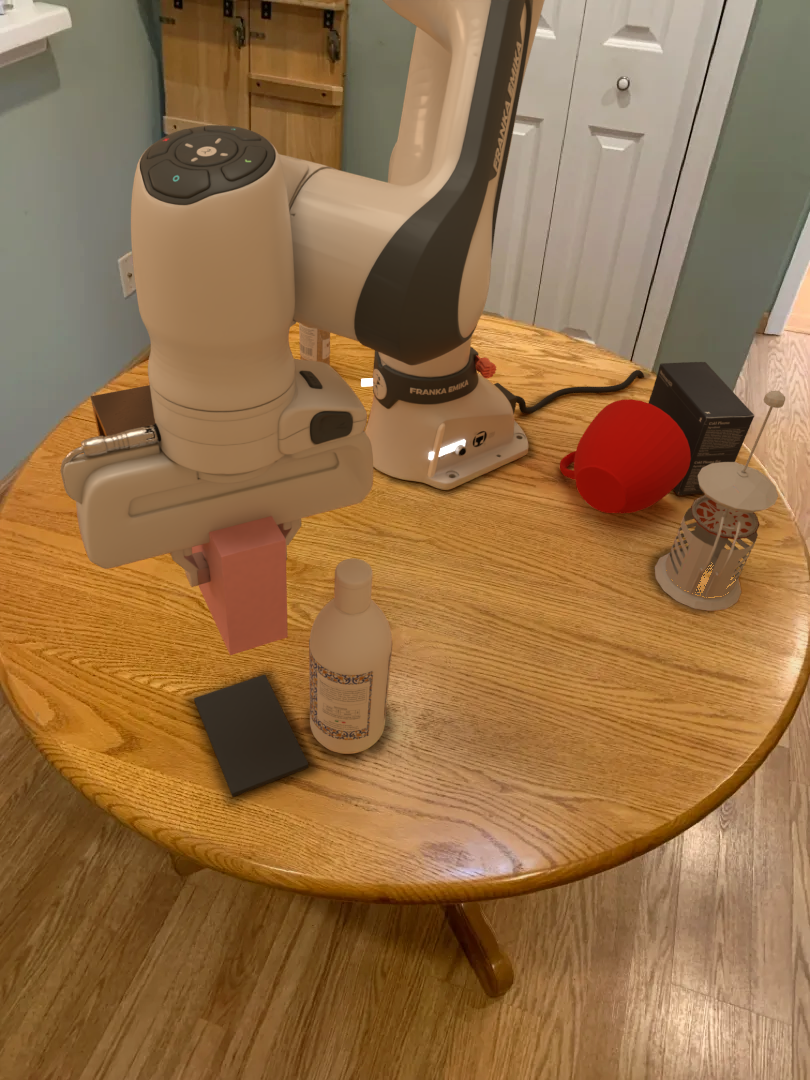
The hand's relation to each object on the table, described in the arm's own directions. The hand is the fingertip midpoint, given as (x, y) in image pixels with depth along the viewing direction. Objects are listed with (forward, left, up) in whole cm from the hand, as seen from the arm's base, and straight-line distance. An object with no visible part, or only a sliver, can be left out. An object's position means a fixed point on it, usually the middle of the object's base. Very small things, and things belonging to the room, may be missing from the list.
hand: (237, 568), depth 63 cm
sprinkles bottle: (-29, -56, -21) cm, 66 cm away
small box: (-66, -17, -21) cm, 71 cm away
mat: (0, 0, -21) cm, 21 cm away
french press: (-52, +1, -21) cm, 57 cm away
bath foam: (-8, +3, -21) cm, 23 cm away
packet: (0, 0, -4) cm, 4 cm away
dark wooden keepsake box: (-4, -44, -21) cm, 49 cm away
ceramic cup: (-47, -13, -17) cm, 51 cm away
